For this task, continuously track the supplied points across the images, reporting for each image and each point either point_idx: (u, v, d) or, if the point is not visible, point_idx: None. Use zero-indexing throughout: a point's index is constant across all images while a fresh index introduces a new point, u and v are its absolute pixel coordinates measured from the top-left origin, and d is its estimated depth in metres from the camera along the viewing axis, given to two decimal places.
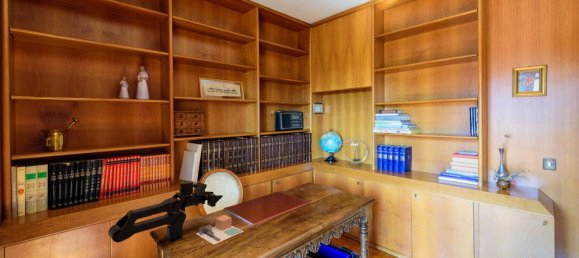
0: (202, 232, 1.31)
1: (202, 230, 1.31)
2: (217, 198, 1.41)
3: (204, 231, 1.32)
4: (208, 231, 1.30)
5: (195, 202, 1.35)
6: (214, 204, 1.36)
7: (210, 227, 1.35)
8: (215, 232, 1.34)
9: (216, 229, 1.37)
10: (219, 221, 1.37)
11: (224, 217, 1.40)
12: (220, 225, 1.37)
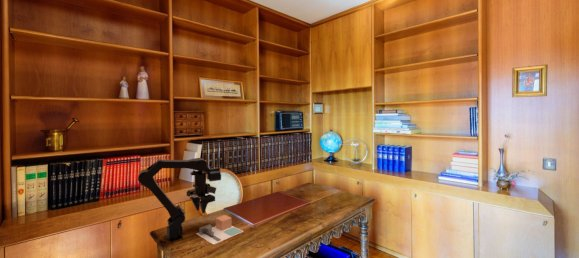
0: (202, 232, 1.31)
1: (202, 230, 1.31)
2: (204, 206, 1.33)
3: (204, 231, 1.32)
4: (208, 231, 1.30)
5: (202, 184, 1.32)
6: (207, 201, 1.28)
7: (210, 227, 1.35)
8: (215, 232, 1.34)
9: (216, 229, 1.37)
10: (219, 221, 1.37)
11: (224, 217, 1.40)
12: (220, 225, 1.37)
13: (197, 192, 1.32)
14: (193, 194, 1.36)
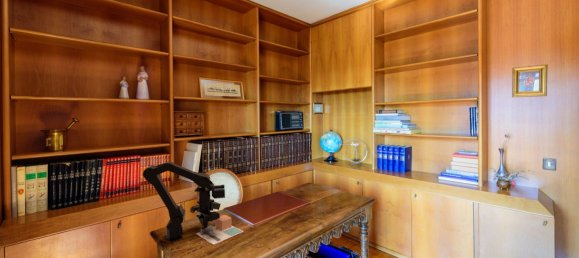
0: (203, 233, 1.30)
1: (203, 231, 1.30)
2: (205, 221, 1.32)
3: (205, 232, 1.31)
4: (209, 232, 1.30)
5: (206, 201, 1.30)
6: (212, 219, 1.26)
7: (211, 228, 1.34)
8: (215, 232, 1.34)
9: (216, 229, 1.37)
10: (219, 221, 1.37)
11: (224, 217, 1.40)
12: (220, 225, 1.37)
13: (201, 209, 1.30)
14: None
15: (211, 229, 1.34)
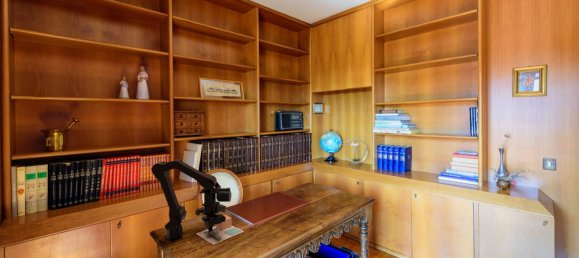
0: (209, 236, 1.27)
1: (209, 234, 1.27)
2: (211, 224, 1.29)
3: (211, 235, 1.28)
4: (215, 235, 1.26)
5: (211, 203, 1.27)
6: (217, 222, 1.23)
7: (217, 231, 1.31)
8: None
9: None
10: None
11: None
12: (220, 225, 1.37)
13: (207, 212, 1.27)
14: None
15: (217, 232, 1.30)
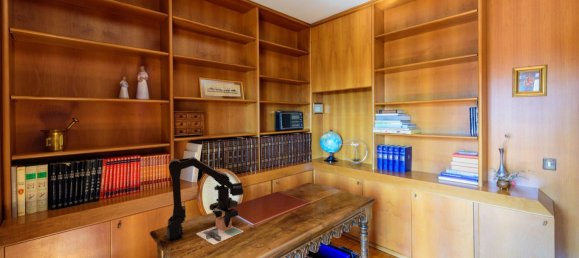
0: (209, 236, 1.27)
1: (209, 234, 1.27)
2: (228, 220, 1.37)
3: (211, 235, 1.28)
4: (215, 235, 1.26)
5: (225, 199, 1.37)
6: (231, 216, 1.32)
7: (217, 231, 1.30)
8: None
9: None
10: (219, 221, 1.37)
11: None
12: (220, 225, 1.37)
13: (221, 206, 1.36)
14: (216, 208, 1.41)
15: (217, 232, 1.30)
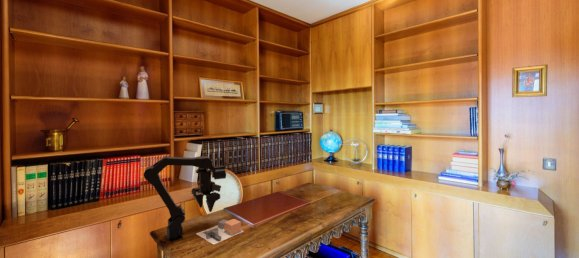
0: (209, 236, 1.27)
1: (209, 234, 1.27)
2: (211, 204, 1.32)
3: (211, 235, 1.28)
4: (215, 235, 1.26)
5: (207, 182, 1.33)
6: (212, 199, 1.28)
7: (217, 231, 1.30)
8: None
9: None
10: (228, 225, 1.32)
11: (233, 221, 1.35)
12: (229, 229, 1.31)
13: (202, 190, 1.33)
14: (196, 191, 1.38)
15: (217, 232, 1.30)
